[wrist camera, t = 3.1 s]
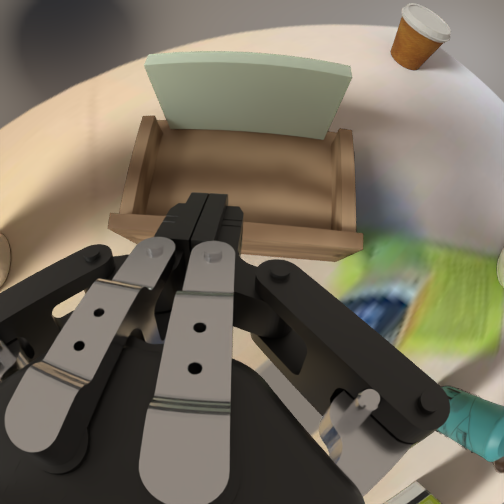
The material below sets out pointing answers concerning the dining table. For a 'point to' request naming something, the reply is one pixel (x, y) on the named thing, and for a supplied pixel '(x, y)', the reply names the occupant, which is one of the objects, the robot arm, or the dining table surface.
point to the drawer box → (247, 187)
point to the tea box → (414, 496)
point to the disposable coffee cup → (418, 36)
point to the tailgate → (248, 91)
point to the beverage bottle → (475, 424)
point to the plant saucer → (499, 465)
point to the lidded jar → (501, 268)
